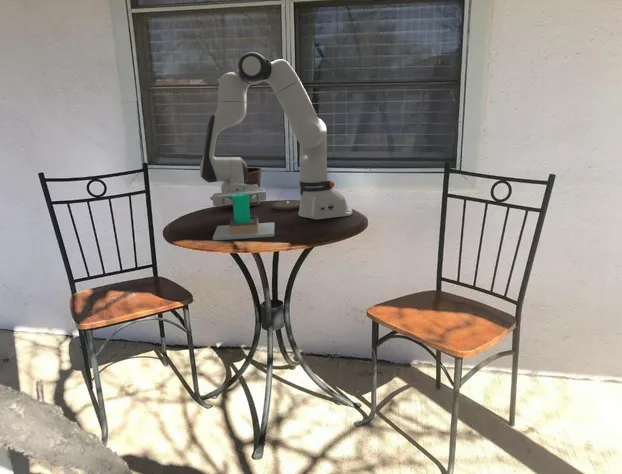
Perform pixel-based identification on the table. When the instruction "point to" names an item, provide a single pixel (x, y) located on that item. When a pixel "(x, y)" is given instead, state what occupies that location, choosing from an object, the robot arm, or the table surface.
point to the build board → (261, 232)
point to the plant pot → (254, 180)
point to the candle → (241, 208)
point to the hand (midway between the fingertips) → (242, 201)
